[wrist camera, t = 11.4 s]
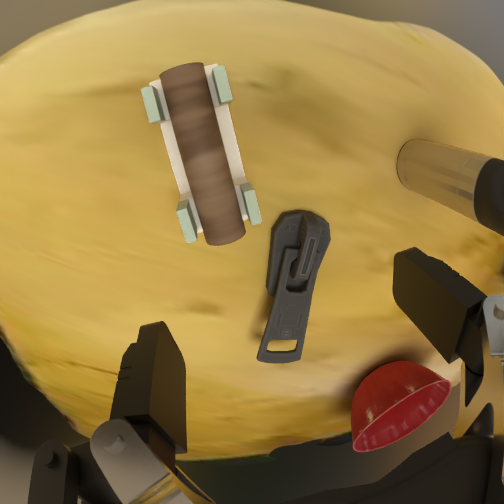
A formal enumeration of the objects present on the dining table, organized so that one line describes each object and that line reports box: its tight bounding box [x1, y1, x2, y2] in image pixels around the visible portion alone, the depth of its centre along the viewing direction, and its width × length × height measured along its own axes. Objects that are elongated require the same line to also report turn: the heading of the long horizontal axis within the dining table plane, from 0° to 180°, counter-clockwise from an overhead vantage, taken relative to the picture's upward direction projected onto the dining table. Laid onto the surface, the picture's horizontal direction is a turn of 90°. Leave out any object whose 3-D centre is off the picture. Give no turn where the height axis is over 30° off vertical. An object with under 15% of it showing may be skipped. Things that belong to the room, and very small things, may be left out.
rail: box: [160, 63, 246, 246], centre depth 30 cm, size 20×5×5 cm, turn 13°
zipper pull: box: [256, 210, 331, 363], centre depth 45 cm, size 9×7×25 cm
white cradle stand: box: [141, 64, 262, 244], centre depth 32 cm, size 22×9×9 cm, turn 13°
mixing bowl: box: [351, 361, 451, 452], centre depth 59 cm, size 28×28×16 cm
